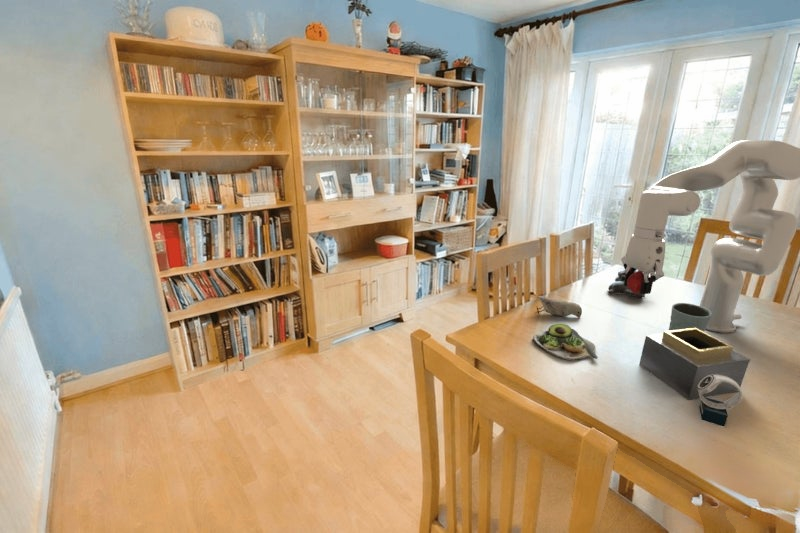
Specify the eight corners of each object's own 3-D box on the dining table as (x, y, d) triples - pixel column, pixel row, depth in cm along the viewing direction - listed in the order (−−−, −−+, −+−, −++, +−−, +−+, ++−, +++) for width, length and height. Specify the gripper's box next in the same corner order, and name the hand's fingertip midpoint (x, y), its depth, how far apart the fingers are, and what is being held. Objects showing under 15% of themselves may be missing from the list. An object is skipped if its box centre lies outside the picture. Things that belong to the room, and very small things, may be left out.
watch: (689, 403, 95) (700, 366, 91) (730, 415, 91) (743, 377, 87) (691, 417, 90) (702, 378, 87) (734, 430, 86) (748, 390, 83)
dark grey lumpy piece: (600, 290, 164) (608, 260, 165) (620, 298, 167) (629, 269, 168) (629, 294, 149) (639, 261, 150) (651, 303, 153) (660, 270, 153)
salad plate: (614, 356, 116) (617, 343, 114) (572, 371, 109) (574, 357, 107) (564, 329, 132) (566, 317, 131) (525, 340, 125) (527, 328, 124)
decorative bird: (581, 321, 137) (585, 303, 135) (535, 316, 141) (538, 298, 139) (579, 315, 142) (582, 297, 140) (534, 310, 146) (537, 293, 144)
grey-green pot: (695, 337, 126) (704, 305, 122) (707, 353, 117) (717, 318, 113) (660, 332, 129) (668, 301, 125) (669, 347, 120) (678, 314, 116)
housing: (684, 358, 114) (694, 322, 110) (738, 391, 99) (752, 351, 95) (639, 365, 111) (647, 327, 107) (688, 400, 96) (700, 358, 92)
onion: (649, 298, 114) (655, 273, 111) (628, 296, 115) (633, 272, 112) (642, 290, 119) (647, 266, 116) (622, 289, 120) (626, 265, 117)
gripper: (685, 239, 103) (670, 299, 109) (636, 225, 119) (626, 278, 125) (662, 241, 102) (648, 302, 108) (616, 227, 118) (606, 280, 124)
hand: (636, 288), depth 116 cm, fingers closed on onion, 5 cm apart
